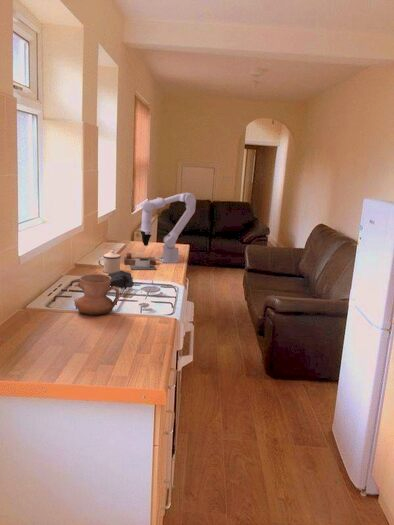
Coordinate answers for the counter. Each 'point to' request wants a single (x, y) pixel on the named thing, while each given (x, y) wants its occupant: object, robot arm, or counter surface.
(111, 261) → the teacup with lid
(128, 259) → the body
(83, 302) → the ceramic jug
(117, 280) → the dark slate chunk
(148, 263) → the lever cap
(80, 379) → the counter surface
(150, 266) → the rubber mat
